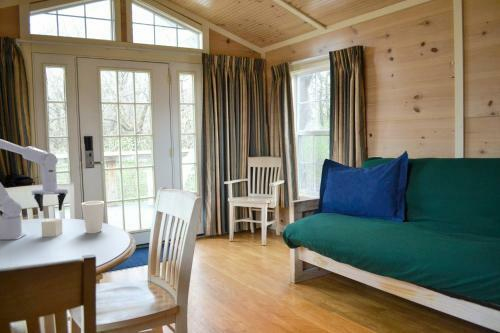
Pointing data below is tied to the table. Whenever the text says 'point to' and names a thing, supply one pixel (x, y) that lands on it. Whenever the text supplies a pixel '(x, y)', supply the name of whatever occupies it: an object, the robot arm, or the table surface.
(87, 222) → the foam cup
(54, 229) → the white cubic block
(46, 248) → the table surface
